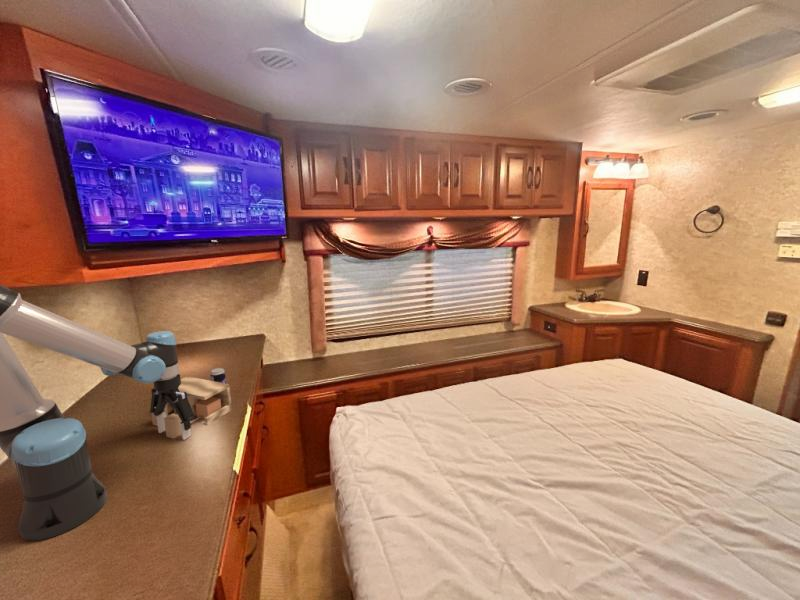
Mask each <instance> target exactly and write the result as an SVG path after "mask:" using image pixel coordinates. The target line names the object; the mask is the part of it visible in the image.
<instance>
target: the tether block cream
mask: <svg viewBox="0 0 800 600" xmlns="http://www.w3.org/2000/svg"><path fill="white" fill-rule="evenodd" d="M176 401H178V400H176ZM176 401H175V402H176ZM155 408H156V407H155ZM162 413H165V414H166V417H168V416H170V415H172V414H177V412H176V410H175V409H174V411H173V413H172V412H171V413H167V406H165V409H164V412H162ZM150 414H151V421H152V426H155V427H158V426H157V421H156V416H155V415H154V413H151V412H150Z"/></svg>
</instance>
